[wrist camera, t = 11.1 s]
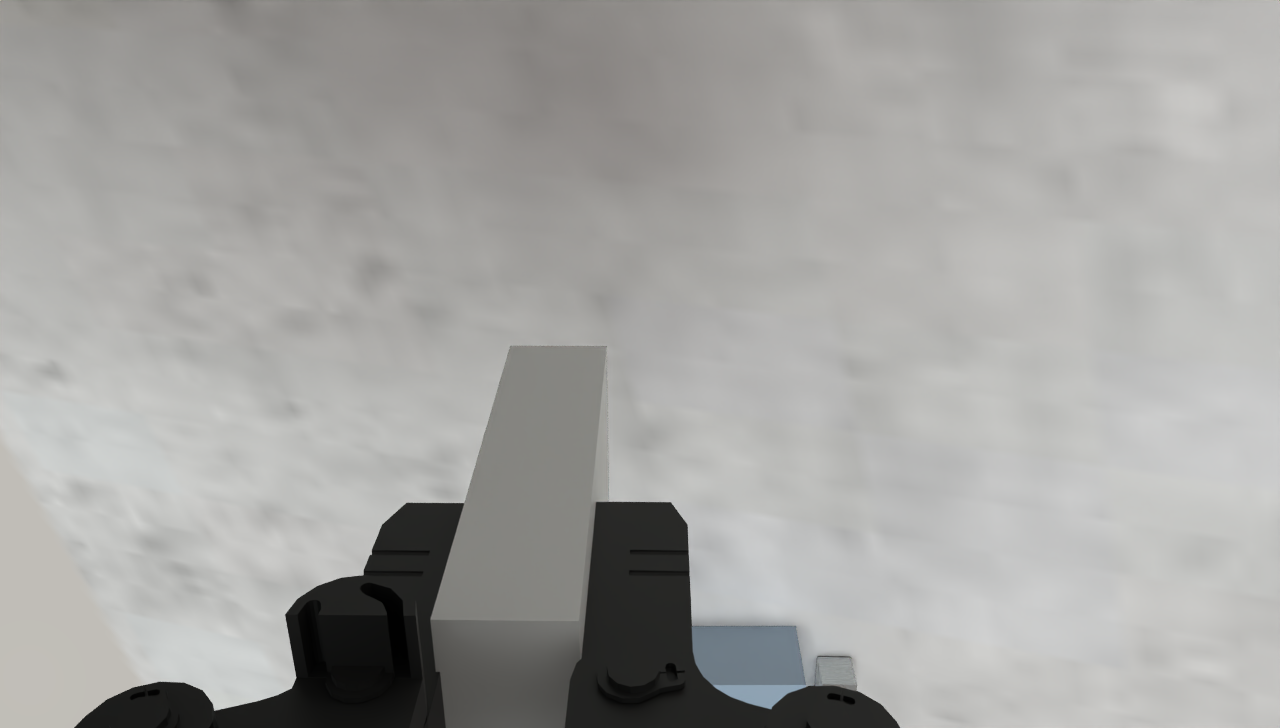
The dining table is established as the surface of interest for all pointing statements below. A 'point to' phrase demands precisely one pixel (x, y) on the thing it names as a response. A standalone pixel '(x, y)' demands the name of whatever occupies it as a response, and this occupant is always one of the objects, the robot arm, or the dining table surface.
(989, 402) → the dining table surface
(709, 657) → the light blue block
